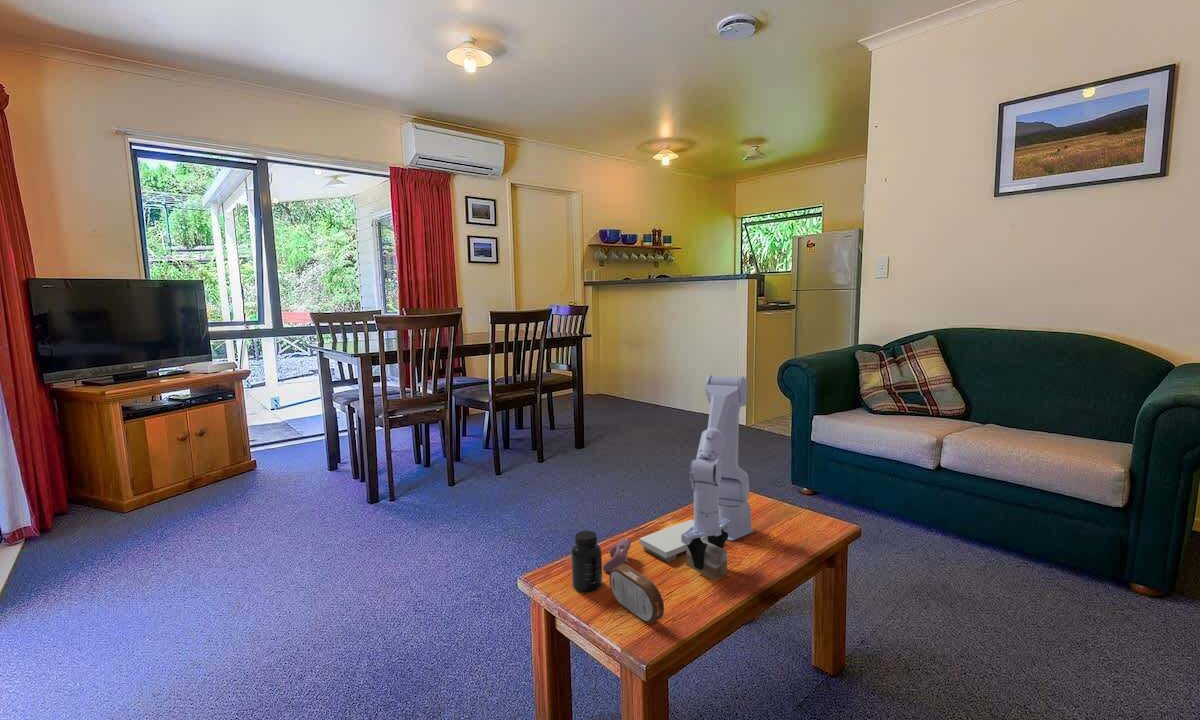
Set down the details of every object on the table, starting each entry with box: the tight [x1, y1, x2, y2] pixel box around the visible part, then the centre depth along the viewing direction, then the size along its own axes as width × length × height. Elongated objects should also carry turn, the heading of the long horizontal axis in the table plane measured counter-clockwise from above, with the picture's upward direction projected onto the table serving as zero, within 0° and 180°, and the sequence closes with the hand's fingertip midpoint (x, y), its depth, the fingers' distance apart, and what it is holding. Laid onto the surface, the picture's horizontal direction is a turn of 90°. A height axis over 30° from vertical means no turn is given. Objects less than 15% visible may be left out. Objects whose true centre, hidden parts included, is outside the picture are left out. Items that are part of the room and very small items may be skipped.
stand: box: [638, 519, 708, 563], centre depth 136 cm, size 19×10×3 cm, turn 126°
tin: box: [609, 563, 665, 625], centre depth 107 cm, size 15×3×8 cm, turn 35°
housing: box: [686, 539, 728, 581], centre depth 123 cm, size 4×9×6 cm, turn 36°
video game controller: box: [602, 537, 632, 573], centre depth 127 cm, size 10×5×7 cm, turn 168°
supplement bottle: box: [570, 530, 603, 594], centre depth 117 cm, size 7×7×12 cm
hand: (706, 564), depth 123 cm, fingers open, 5 cm apart
